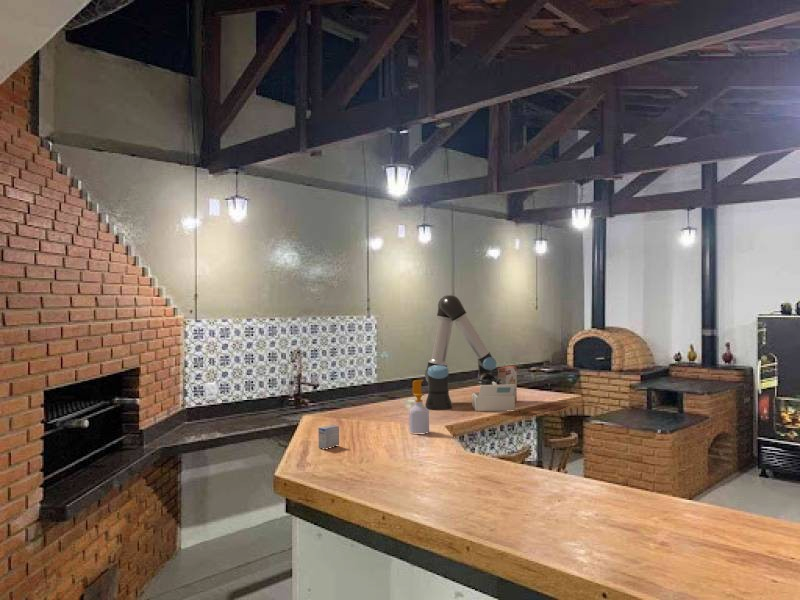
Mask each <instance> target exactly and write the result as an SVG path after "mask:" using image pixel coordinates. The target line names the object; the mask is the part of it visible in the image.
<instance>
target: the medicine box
mask: <svg viewBox="0 0 800 600" xmlns="http://www.w3.org/2000/svg"><path fill="white" fill-rule="evenodd" d="M317 429H318V430H317V431H318V433H317V434H318V449H319V448H324V449H326V448H329V447H333V446H336V445H339V446H340V426H339V425H334V424H329V425H325V426H322V427H319V428H317Z"/></svg>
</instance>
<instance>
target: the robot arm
mask: <svg viewBox="0 0 800 600" xmlns="http://www.w3.org/2000/svg"><path fill="white" fill-rule="evenodd" d="M437 308H438V309H437V313H436V317H437V318H438V322H437V326H436V333H435V338H434V344H433V348H432V353H431V359H429V360H428V361H427V365H426V367H427V368H426V370H425V371H424V379H425V381H426V382H427V391H428V392H427V397H426V401H425V404H424V407H426V408H427V409H428V410H431V409H432V410H433V411H442V410H443V411H445V410H450V409H452V408H453V402H452V399H451V396H450V391H449V374H450V373H449V368H448V364H447V358H448V357H447V356H448V350H449V346H450V340H451V336H452V335H451V334H452V330H453V325H454V323H455V325H456V326H457V328H458V330H459V331H460V333H461V334H462V336H463V337H464V339H465V340H466V342H467V343H468V345H469V348H470V349H471V350H472V351H473V354H475V356H476V358H477V366H478V369H477V371H478V374H477V380H478V384H479V385H480V386H481V385H500V384H501V379H499V380H498V378H497V379H496V378H495V376H494V375H493V374H492V371H494V370H495V368H496V367H497V360H496V359H495V358H494V357H493V356H492V354H491V352H490V350H489V349H488V347H487V346H486V344H485V343H484V342H483V340H482V339H481V337H480V335H479V332H477V330H476V329H475V327H474V325H473V324H472V323H471V320H470V319H469V318H468V315H467V311H466V309H465V308H464V306H463V304H462V302H461V300H460V299H459V297H457V296H455V295H452V294H448V295H444V296H442V297H441V298H440V299H439V301H438V303H437ZM432 410H431V411H432Z"/></svg>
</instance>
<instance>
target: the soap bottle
mask: <svg viewBox="0 0 800 600" xmlns="http://www.w3.org/2000/svg"><path fill="white" fill-rule="evenodd" d="M423 381H424V379H415V380H413V381H412V394H413V395H414V396H415V398H416V400H415V401H414V404H415V405H413V406H412V407H411V408H410V409H409V411H408V412H409V413H408V415H409V416H408V417H409V420H408V422H409V423H408V425H409V433H410V432H412V433H426V432H429V433H430V411H429V410H430V409H427V408H426V407H425V405H423V400H422V399H421V398H422V397H423V396H425V394H424V393H423V392H422V382H423Z"/></svg>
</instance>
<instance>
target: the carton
mask: <svg viewBox="0 0 800 600" xmlns="http://www.w3.org/2000/svg"><path fill="white" fill-rule="evenodd" d="M479 392H480V391H479ZM479 392H476V391H475V392H472V393H471V399H472V401H471V404H472V405H471V406H473V407H472V408H473V409H474V411H475V412H477V411H487V412H508V411H507V410H514V411H516V401H515V396H514V395H513V396H481V397H479Z"/></svg>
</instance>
